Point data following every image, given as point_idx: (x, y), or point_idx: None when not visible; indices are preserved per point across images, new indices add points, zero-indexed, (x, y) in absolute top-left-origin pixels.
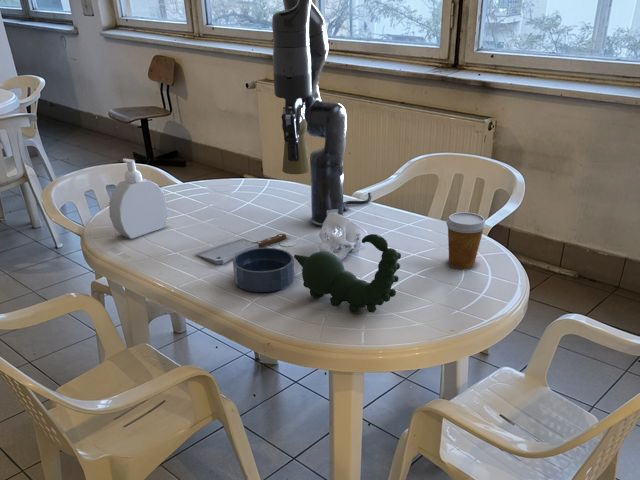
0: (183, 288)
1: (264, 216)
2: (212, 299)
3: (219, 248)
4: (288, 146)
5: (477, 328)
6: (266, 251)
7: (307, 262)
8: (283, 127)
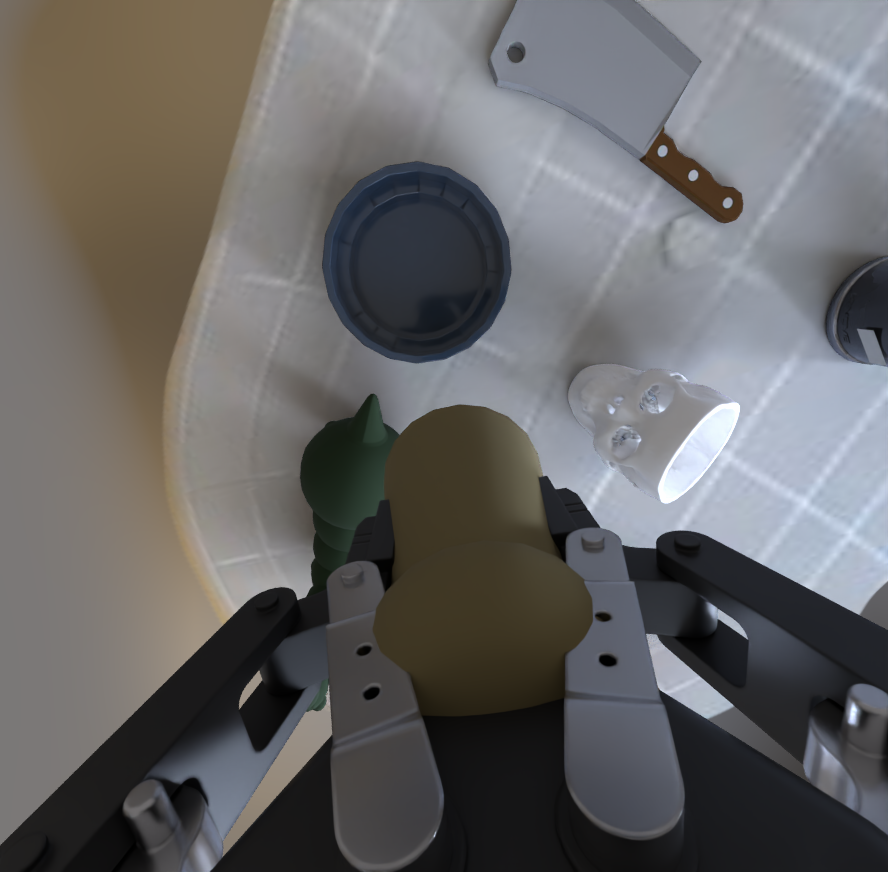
0: (298, 31)
1: None
2: (268, 166)
3: (609, 8)
4: (368, 552)
5: None
6: (499, 245)
7: (323, 452)
8: (127, 725)
